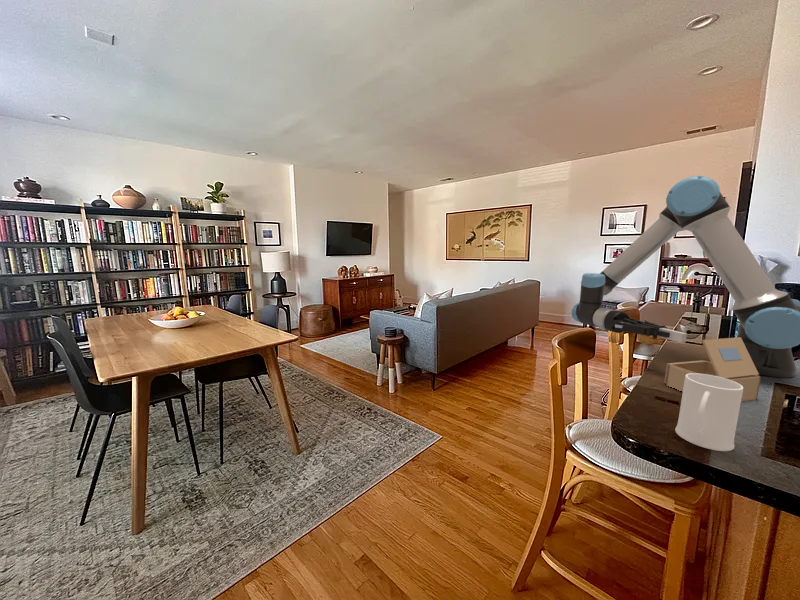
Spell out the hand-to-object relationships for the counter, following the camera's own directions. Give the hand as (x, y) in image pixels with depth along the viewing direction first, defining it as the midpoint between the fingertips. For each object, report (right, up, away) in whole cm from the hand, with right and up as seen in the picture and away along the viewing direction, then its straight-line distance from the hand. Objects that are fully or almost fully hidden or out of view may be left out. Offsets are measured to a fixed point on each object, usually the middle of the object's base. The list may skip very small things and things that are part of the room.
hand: (684, 338), depth 91 cm
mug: (-22, -17, -28) cm, 39 cm away
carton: (+2, -14, -6) cm, 15 cm away
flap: (+3, -8, -12) cm, 15 cm away
